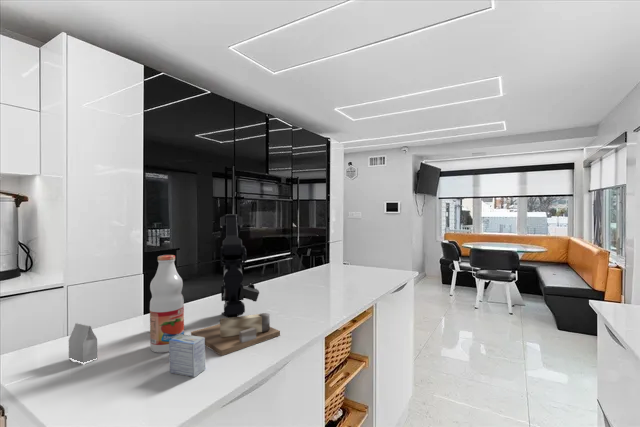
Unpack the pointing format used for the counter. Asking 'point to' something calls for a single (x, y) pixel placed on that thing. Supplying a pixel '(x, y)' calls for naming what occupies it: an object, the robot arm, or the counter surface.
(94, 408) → the counter surface
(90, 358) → the grey milk carton
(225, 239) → the robot arm
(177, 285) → the fruit juice
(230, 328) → the hinged leg
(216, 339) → the wooden board
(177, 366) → the medicine box
